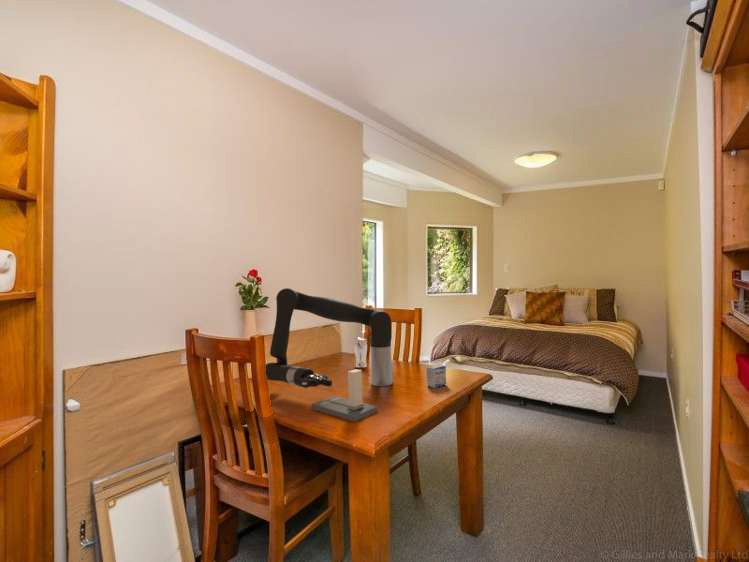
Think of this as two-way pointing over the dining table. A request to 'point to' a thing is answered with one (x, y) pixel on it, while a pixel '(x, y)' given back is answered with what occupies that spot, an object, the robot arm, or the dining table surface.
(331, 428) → the dining table surface
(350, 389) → the beige tall block
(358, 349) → the beer glass
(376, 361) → the robot arm
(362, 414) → the fader board
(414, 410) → the dining table surface
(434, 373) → the medicine box
